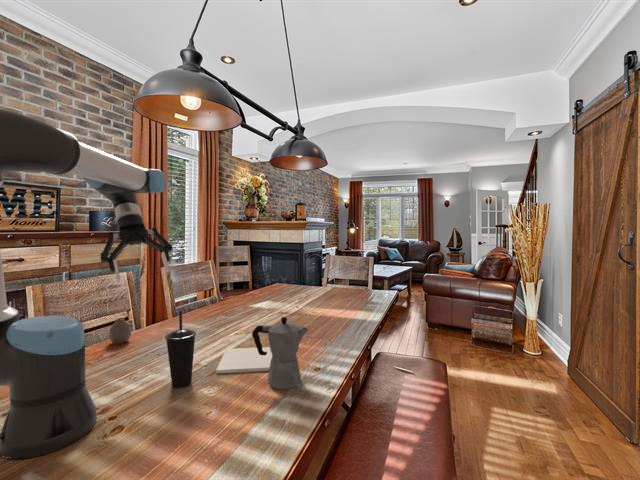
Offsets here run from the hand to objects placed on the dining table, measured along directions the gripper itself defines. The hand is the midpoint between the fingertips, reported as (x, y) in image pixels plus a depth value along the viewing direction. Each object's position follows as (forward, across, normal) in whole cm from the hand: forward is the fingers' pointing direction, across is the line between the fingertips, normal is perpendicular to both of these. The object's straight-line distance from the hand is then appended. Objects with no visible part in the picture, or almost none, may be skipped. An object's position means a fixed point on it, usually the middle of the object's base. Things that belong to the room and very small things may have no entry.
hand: (144, 275), depth 97 cm
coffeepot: (+46, -23, +15) cm, 54 cm away
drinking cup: (+36, -2, +3) cm, 36 cm away
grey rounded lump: (+9, +8, -36) cm, 38 cm away
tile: (+36, -22, 0) cm, 42 cm away
